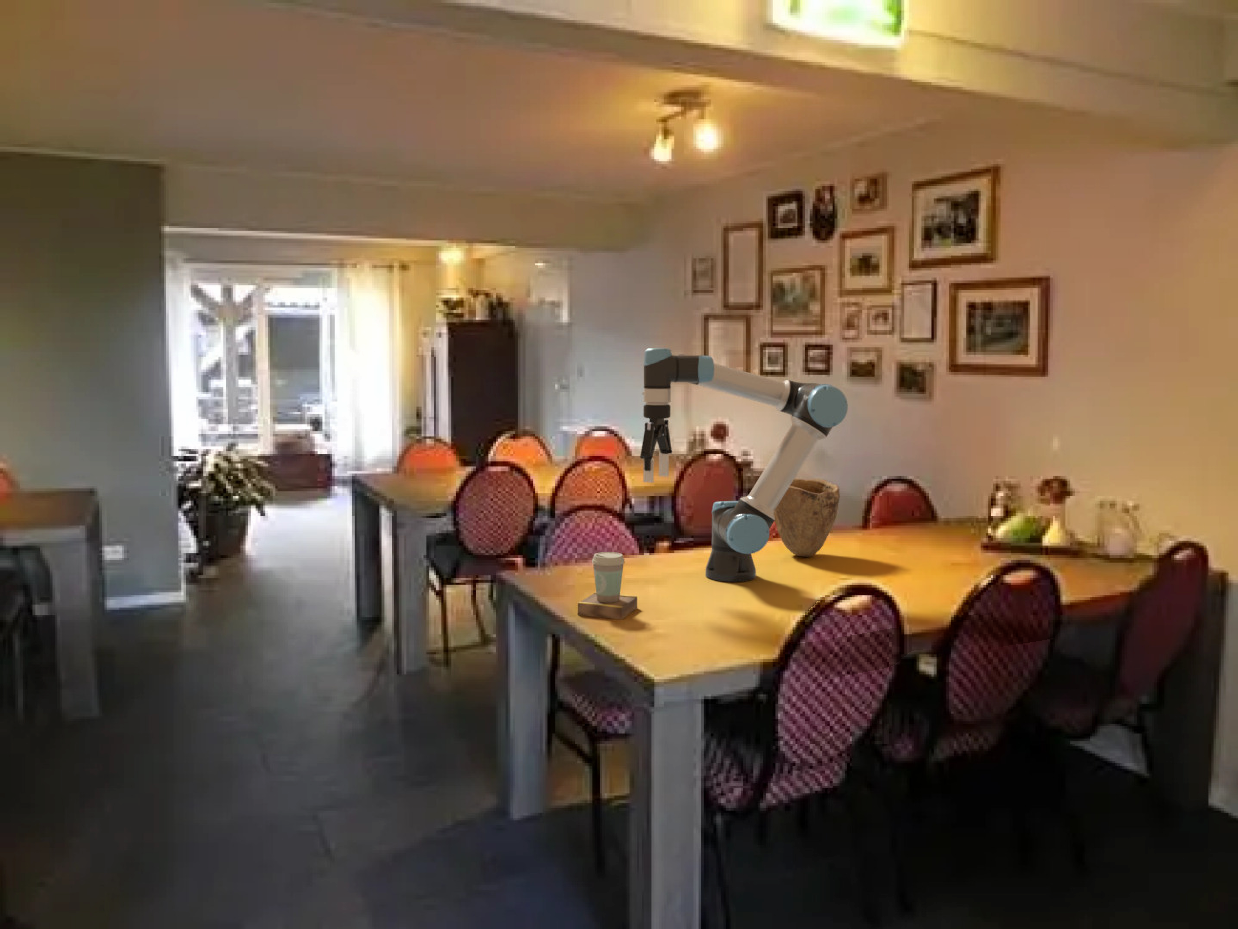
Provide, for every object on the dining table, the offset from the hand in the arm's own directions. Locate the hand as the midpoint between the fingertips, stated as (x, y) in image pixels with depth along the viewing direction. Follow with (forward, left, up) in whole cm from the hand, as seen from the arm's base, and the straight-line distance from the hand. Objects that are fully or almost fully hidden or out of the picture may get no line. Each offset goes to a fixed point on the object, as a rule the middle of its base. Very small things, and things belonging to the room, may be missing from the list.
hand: (656, 479), depth 282 cm
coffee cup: (+4, +27, -29) cm, 40 cm away
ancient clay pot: (-31, -61, -32) cm, 75 cm away
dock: (+4, +27, -32) cm, 42 cm away
